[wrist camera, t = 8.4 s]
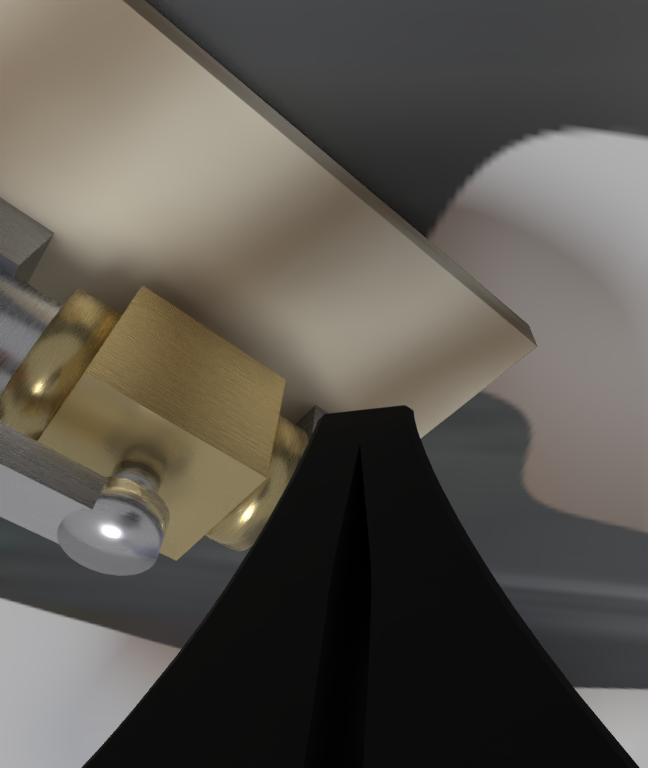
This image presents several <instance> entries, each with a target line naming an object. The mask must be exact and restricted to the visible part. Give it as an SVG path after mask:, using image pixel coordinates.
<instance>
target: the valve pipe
mask: <svg viewBox="0 0 648 768" xmlns="http://www.w3.org/2000/svg"><path fill="white" fill-rule="evenodd" d="M53 235H54V232H52V231H51V230H49V229H48V228H46V227H45V226H43V225H42V224H40V223H38V222H37V221H35V220H34V219H32V218H31V217H29V216H28V215H26V214H25V213H23V212H22V211H20V210H19V209H17V208H16V207H14V206H13V205H11V204H10V203H8V202H7V201H5V200H4V199H2V198H0V422H1V423H3V424H5V425H7V426H8V427H10V428H12V429H14V430H16V431H18V432H20V433H22V434H24V435H26V436H28V437H30V438H31V439H33V440H35V441H37V442H39V443H41V444H43V445H45V446H47V447H49V448H51V449H53V450H55V451H56V452H58V453H60V454H62V455H64V456H66V457H68V458H70V459H72V460H74V461H76V462H78V463H79V464H81V465H83V466H85V467H87V468H89V469H91V470H93V471H95V472H97V473H99V474H101V475H103V476H104V477H121V478H126V479H130V480H133V481H136V482H139V483H141V484H143V485H145V486H147V487H148V488H150V489H152V490H153V491H154V492H156V493H157V494H158V495H159V496H160V497H161V498H162V499H163V500H164V502H165V503H166V505H167V507H168V509H169V512H170V522H169V525H168V528H167V531H166V534H165V536H164V539H163V542H162V545H161V548H160V551H159V552H160V553H162V554H164V555H166V556H168V557H170V558H172V559H174V560H176V561H177V560H178V559H179V558H180V557H181V556H182V555H183V554H184V553H185V552H187V551H188V550H189V549H190V548H191V547H192V546H193V545H194V544H195V543H196V542H198V541H199V540H200V539H201V538H202V537H203V536H206V537H208V538H210V539H212V540H214V541H216V542H218V543H220V544H222V545H224V546H226V547H228V548H229V549H231V550H233V551H237V552H239V551H243V550H246V549H248V548H249V547H251V546H252V545H253V544H254V543H255V541H256V539H257V538H258V536H259V535H260V533H261V531H262V529H263V528H264V526H265V524H266V523H267V521H268V519H269V517H270V515H271V514H272V512H273V510H274V508H275V506H276V505H277V503H278V501H279V499H280V497H281V496H282V494H283V492H284V490H285V488H286V487H287V485H288V483H289V481H290V479H291V477H292V475H293V473H294V471H295V469H296V467H297V465H298V463H299V461H300V459H301V457H302V455H303V453H304V451H305V449H306V447H307V445H308V442H309V440H310V438H311V436H312V434H313V431H314V429H315V427H316V424H317V422H318V420H319V419H320V418H321V417H322V416H323V415H324V414H329V413H327V412H326V411H324V410H323V409H321V408H320V407H318V406H317V405H315V406H314V407H313V408H312V409H311V410H310V411H309V412H308V413H307V414H306V415H305V416H304V417H302V418H301V419H300V420H299V421H298V422H297V423H296V424H293V423H292V422H290V421H289V420H287V419H286V418H284V417H282V416H281V415H279V413H280V408H281V403H282V398H283V392H284V387H285V382H286V380H285V379H284V378H282V377H280V376H279V375H277V374H276V373H274V372H273V371H271V370H270V369H268V368H267V367H265V366H264V365H262V364H261V363H259V362H258V361H256V360H255V359H253V358H252V357H250V356H249V355H247V354H246V353H244V352H243V351H241V350H240V349H238V348H237V347H235V346H234V345H232V344H231V343H229V342H228V341H226V340H225V339H223V338H222V337H220V336H218V335H217V334H215V333H214V332H212V331H211V330H209V329H208V328H206V327H205V326H203V325H202V324H200V323H199V322H197V321H196V320H194V319H193V318H191V317H190V316H188V315H187V314H185V313H184V312H182V311H181V310H179V309H178V308H176V307H175V306H173V305H172V304H170V303H169V302H167V301H166V300H164V299H163V298H161V297H160V296H158V295H156V294H155V293H153V292H152V291H150V290H149V289H147V288H146V287H144V286H143V285H142V287H141V288H140V289H139V291H138V292H137V294H136V295H135V297H134V298H133V300H132V301H131V303H130V304H129V306H128V307H127V309H126V310H125V311H124V313H123V314H120V313H118V312H117V311H115V310H114V309H112V308H110V307H109V306H107V305H106V304H104V303H103V302H101V301H99V300H98V299H96V298H95V297H93V296H92V295H90V294H88V293H87V292H85V291H84V290H82V289H78V290H77V291H76V292H75V293H74V294H73V295H72V296H71V297H70V298H69V299H68V301H67V302H66V303H65V304H64V305H62V304H60V303H58V302H57V301H55V300H53V299H52V298H50V297H49V296H47V295H45V294H44V293H42V292H40V291H39V290H37V289H36V288H34V287H32V286H31V285H29V284H27V283H28V281H29V279H30V278H31V276H32V274H33V272H34V270H35V268H36V266H37V265H38V263H39V261H40V259H41V257H42V255H43V253H44V252H45V250H46V248H47V246H48V244H49V242H50V240H51V239H52V237H53Z"/></svg>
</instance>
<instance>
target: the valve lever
mask: <svg viewBox="0 0 648 768" xmlns="http://www.w3.org/2000/svg"><path fill="white" fill-rule="evenodd" d="M0 517H2V518H5V519H7V520H9V521H11V522H13V523H15V524H17V525H20V526H22V527H24V528H26V529H28V530H30V531H33V532H35V533H37V534H39V535H41V536H43V537H45V538H48V539H50V540H52V541H54V542H56V543H58V544H60V546H61V547H62V549H63V550H64V551H65V553H66V554H67V555H68V556H70V557H71V558H72V559H73V560H75V561H76V562H78V563H79V564H81V565H83V566H85V567H87V568H89V569H92V570H94V571H97V572H101V573H105V574H110V575H123V576H124V575H134V574H138V573H141V572H144V571H146V570H147V569H149V568H150V567H152V566H153V564H154V563H155V561H156V560H157V557H158V554H159V551H160V548H161V545H162V542H163V539H164V536H165V534H166V531H167V528H168V525H169V522H170V512H169V509H168V507H167V505H166V503H165V502H164V500H163V499H162V498H161V497H160V496H159V495H158V494H157V493H156V492H154V491H153V490H152V489H150V488H148V487H147V486H145V485H143V484H141V483H139V482H136V481H133V480H130V479H126V478H121V477H104V476H103V475H101V474H99V473H97V472H95V471H93V470H91V469H89V468H87V467H85V466H83V465H81V464H79V463H78V462H76V461H74V460H72V459H70V458H68V457H66V456H64V455H62V454H60V453H58V452H56V451H55V450H53V449H51V448H49V447H47V446H45V445H43V444H41V443H39V442H37V441H35V440H33V439H31V438H30V437H28V436H26V435H24V434H22V433H20V432H18V431H16V430H14V429H12V428H10V427H8V426H7V425H5V424H3V423H1V422H0Z"/></svg>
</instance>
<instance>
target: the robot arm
mask: <svg viewBox="0 0 648 768" xmlns="http://www.w3.org/2000/svg"><path fill="white" fill-rule="evenodd" d="M82 768H639V766H638V765H637V764H636V763H635V762H634V761H633V759H632V758H631V757H630V756H629V754H628V753H627V752H626V751H625V750H624V748H623V747H622V746H621V745H620V744H619V742H618V741H617V740H616V739H615V737H614V736H613V735H612V734H611V733H610V731H608V729H607V728H606V727H605V725H604V724H603V723H602V722H601V721H600V719H599V718H598V717H597V716H596V715H595V713H594V712H593V711H592V710H591V709H590V707H589V706H588V705H587V704H586V703H585V701H584V700H583V699H582V698H581V697H580V695H579V694H578V693H577V691H576V690H575V689H574V688H573V686H572V685H571V684H570V682H569V681H568V680H567V678H566V677H565V676H564V675H563V673H562V672H561V671H560V669H559V668H558V667H557V665H556V664H555V663H554V661H553V660H552V659H551V657H550V656H549V655H548V653H547V652H546V651H545V650H544V648H543V647H542V646H541V644H540V643H539V642H538V640H537V639H536V637H535V636H534V635H533V633H532V632H531V630H530V629H529V628H528V626H527V625H526V623H525V622H524V621H523V619H522V618H521V616H520V615H519V614H518V612H517V611H516V609H515V608H514V607H513V605H512V604H511V602H510V601H509V599H508V598H507V596H506V595H505V593H504V592H503V590H502V589H501V587H500V586H499V584H498V583H497V581H496V580H495V578H494V577H493V575H492V574H491V572H490V571H489V569H488V567H487V566H486V564H485V562H484V561H483V559H482V558H481V556H480V554H479V553H478V551H477V550H476V548H475V546H474V545H473V543H472V542H471V540H470V538H469V536H468V535H467V533H466V531H465V530H464V528H463V526H462V524H461V523H460V521H459V519H458V517H457V515H456V514H455V512H454V510H453V508H452V506H451V504H450V502H449V500H448V499H447V497H446V495H445V493H444V491H443V489H442V487H441V485H440V483H439V481H438V479H437V477H436V475H435V473H434V471H433V469H432V466H431V464H430V462H429V459H428V457H427V455H426V452H425V450H424V447H423V445H422V442H421V439H420V436H419V433H418V430H417V426H416V422H415V417H414V411H413V410H412V409H410V408H409V407H408V406H406V405H401V406H392V407H383V408H374V409H365V410H356V411H347V412H338V413H329V414H324V415H323V416H322V417H321V418H320V419H319V420H318V422H317V424H316V427H315V429H314V431H313V434H312V436H311V438H310V440H309V442H308V445H307V447H306V449H305V451H304V453H303V455H302V457H301V459H300V461H299V463H298V465H297V467H296V469H295V471H294V473H293V475H292V477H291V479H290V481H289V483H288V485H287V487H286V488H285V490H284V492H283V494H282V496H281V497H280V499H279V501H278V503H277V505H276V506H275V508H274V510H273V512H272V514H271V515H270V517H269V519H268V521H267V523H266V524H265V526H264V528H263V529H262V531H261V533H260V535H259V536H258V538H257V539H256V541H255V543H254V544H253V546H252V547H251V549H250V550H249V552H248V554H247V555H246V557H245V558H244V560H243V562H242V563H241V565H240V566H239V568H238V569H237V571H236V573H235V574H234V576H233V577H232V579H231V581H230V582H229V584H228V585H227V587H226V588H225V590H224V591H223V592H222V594H221V595H220V597H219V598H218V600H217V601H216V603H215V604H214V606H213V607H212V608H211V610H210V611H209V613H208V614H207V615H206V617H205V618H204V620H203V621H202V622H201V624H200V625H199V626H198V628H197V629H196V630H195V632H194V633H193V635H192V636H191V637H190V639H189V640H188V641H187V643H186V644H185V645H184V647H183V648H182V649H181V651H180V652H179V653H178V655H177V656H176V657H175V658H174V660H173V661H172V662H171V663H170V665H169V666H168V667H167V668H166V670H165V671H164V672H163V673H162V675H161V676H160V677H159V678H158V679H157V681H156V682H155V683H154V684H153V686H152V687H151V688H150V689H149V691H148V692H147V693H146V695H145V696H144V697H143V698H142V699H141V701H140V702H139V703H138V704H137V705H136V707H135V708H134V709H133V710H132V712H131V713H130V714H129V715H128V716H127V718H126V719H125V720H124V721H123V722H122V723H121V724H120V726H119V727H118V728H117V729H116V730H115V731H114V732H113V734H112V735H111V736H110V737H109V738H108V739H107V740H106V742H105V743H104V744H103V745H102V746H101V747H100V748H99V750H98V751H97V752H96V753H95V754H94V755H93V756H92V757H91V758H90V759H89V760H88V761H87V762H86V763H85V765H84V766H83V767H82Z"/></svg>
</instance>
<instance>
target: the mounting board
mask: <svg viewBox="0 0 648 768" xmlns="http://www.w3.org/2000/svg"><path fill="white" fill-rule="evenodd" d="M0 198H2V199H4V200H5V201H7V202H8V203H10V204H11V205H13V206H14V207H16V208H17V209H19V210H20V211H22V212H23V213H25V214H26V215H28V216H29V217H31V218H32V219H34V220H35V221H37V222H38V223H40V224H42V225H43V226H45V227H46V228H48V229H49V230H51V231H52V232H54V235H53V237H52V239H51V240H50V242H49V244H48V246H47V248H46V250H45V252H44V253H43V255H42V257H41V259H40V261H39V263H38V265H37V266H36V268H35V270H34V272H33V274H32V276H31V278H30V279H29V281H28V283H27V284H29V285H31V286H32V287H34V288H36V289H37V290H39V291H40V292H42V293H44V294H45V295H47V296H49V297H50V298H52V299H53V300H55V301H57V302H58V303H60V304H62V305H64V304H65V303H66V302H67V301H68V299H69V298H70V297H71V296H72V295H73V294H74V293H75V292H76V291H77V290H78V289H82V290H84V291H85V292H87V293H88V294H90V295H92V296H93V297H95V298H96V299H98V300H99V301H101V302H103V303H104V304H106V305H107V306H109V307H110V308H112V309H114V310H115V311H117V312H118V313H120V314H123V313H124V311H125V310H126V309H127V307H128V306H129V304H130V303H131V301H132V300H133V298H134V297H135V295H136V294H137V292H138V291H139V289H140V288H141V287H142V285H143V286H144V287H146V288H147V289H149V290H150V291H152V292H153V293H155V294H156V295H158V296H160V297H161V298H163V299H164V300H166V301H167V302H169V303H170V304H172V305H173V306H175V307H176V308H178V309H179V310H181V311H182V312H184V313H185V314H187V315H188V316H190V317H191V318H193V319H194V320H196V321H197V322H199V323H200V324H202V325H203V326H205V327H206V328H208V329H209V330H211V331H212V332H214V333H215V334H217V335H218V336H220V337H222V338H223V339H225V340H226V341H228V342H229V343H231V344H232V345H234V346H235V347H237V348H238V349H240V350H241V351H243V352H244V353H246V354H247V355H249V356H250V357H252V358H253V359H255V360H256V361H258V362H259V363H261V364H262V365H264V366H265V367H267V368H268V369H270V370H271V371H273V372H274V373H276V374H277V375H279V376H280V377H282V378H284V379H285V380H286V382H285V387H284V392H283V398H282V403H281V408H280V413H279V415H281V416H282V417H284V418H286V419H287V420H289V421H290V422H292V423H293V424H296V423H297V422H298V421H299V420H300V419H301V418H302V417H304V416H305V415H306V414H307V413H308V412H309V411H310V410H311V409H312V408H313V407H314V406H315V405H317V406H318V407H320V408H321V409H323V410H324V411H326V412H327V413H338V412H347V411H356V410H365V409H374V408H383V407H392V406H401V405H406V406H408V407H409V408H410V409H412V410H413V411H414V417H415V422H416V426H417V430H418V433H419V436H420V439H421V438H422V437H423V436H424V435H426V434H427V433H428V432H430V431H431V430H432V429H433V428H435V427H436V426H437V425H438V424H440V423H441V422H442V421H443V420H445V419H446V418H447V417H449V416H450V415H451V414H452V413H454V412H455V411H456V410H457V409H459V408H460V407H461V406H462V405H464V404H465V403H466V402H468V401H469V400H470V399H471V398H473V397H474V396H475V395H476V394H478V393H479V392H480V391H481V390H483V389H484V388H485V387H487V386H488V385H489V384H490V383H491V382H493V381H494V380H495V379H497V378H498V377H499V376H500V375H502V374H503V373H504V372H506V371H507V370H508V369H509V368H511V367H512V366H513V365H514V364H515V363H517V362H518V361H519V360H521V359H522V358H523V357H525V356H526V355H527V354H528V353H530V352H531V351H532V350H533V349H535V348H536V347H537V344H536V342H535V339H534V337H533V335H532V332H531V330H530V327H529V325H528V324H527V323H526V322H524V321H523V320H522V319H521V318H520V317H519V316H517V315H516V314H515V313H514V312H513V311H511V310H510V309H509V308H508V307H507V306H505V305H504V304H503V303H502V302H501V301H500V300H498V299H497V298H496V297H495V296H493V294H491V293H490V292H489V291H488V290H487V289H485V288H484V287H483V286H482V285H481V284H480V283H478V282H477V281H476V280H475V279H473V278H472V277H471V276H470V275H469V274H468V273H466V272H465V271H464V270H463V269H462V268H461V267H459V266H458V265H457V264H456V263H455V262H454V261H452V260H451V259H450V258H449V257H447V256H446V255H445V254H444V253H443V252H442V251H441V250H439V249H438V248H437V247H436V246H435V245H433V244H432V243H431V242H430V241H429V240H428V239H426V238H425V237H424V236H423V235H422V234H420V233H419V232H418V231H417V230H416V229H415V228H413V227H412V226H411V225H410V224H409V223H407V222H406V221H405V220H404V219H403V218H402V217H400V216H399V215H398V214H397V213H396V212H394V211H393V210H392V209H391V208H390V207H389V206H387V205H386V204H385V203H384V202H383V201H381V200H380V199H379V198H378V197H377V196H376V195H374V194H373V193H372V192H371V191H370V190H368V189H367V188H366V187H365V186H364V185H363V184H361V183H360V182H359V181H358V180H357V179H355V178H354V177H353V176H352V175H351V174H350V173H348V172H347V171H346V170H345V169H344V168H342V167H341V166H340V165H339V164H338V163H337V162H335V161H334V160H333V159H332V158H331V157H329V156H328V155H327V154H326V153H325V152H324V151H322V150H321V149H320V148H319V147H318V146H316V145H315V144H314V143H313V142H312V141H311V140H309V139H308V138H307V137H306V136H305V135H303V134H302V133H301V132H300V131H299V130H298V129H296V128H295V127H294V126H293V125H292V124H290V123H289V122H288V121H287V120H286V119H285V118H283V117H282V116H281V115H280V114H279V113H277V112H276V111H275V110H274V109H273V108H272V107H270V106H269V105H268V104H267V103H266V102H264V101H263V100H262V99H261V98H260V97H259V96H257V95H256V94H255V93H254V92H253V91H251V90H250V89H249V88H248V87H247V86H246V85H244V84H243V83H242V82H241V81H240V80H238V79H237V78H236V77H235V76H234V75H233V74H231V73H230V72H229V71H228V70H227V69H225V68H224V67H223V66H222V65H221V64H220V63H218V62H217V61H216V60H215V59H214V58H212V57H211V56H210V55H209V54H208V53H207V52H205V51H204V50H203V49H202V48H201V47H199V46H198V45H197V44H196V43H195V42H194V41H192V40H191V39H190V38H189V37H188V36H186V35H185V34H184V33H183V32H182V31H181V30H179V29H178V28H177V27H176V26H175V25H173V24H172V23H171V22H170V21H169V20H168V19H166V18H165V17H164V16H163V15H162V14H160V13H159V12H158V11H157V10H156V9H155V8H153V7H152V6H151V5H150V4H149V3H147V2H146V1H145V0H0Z"/></svg>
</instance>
